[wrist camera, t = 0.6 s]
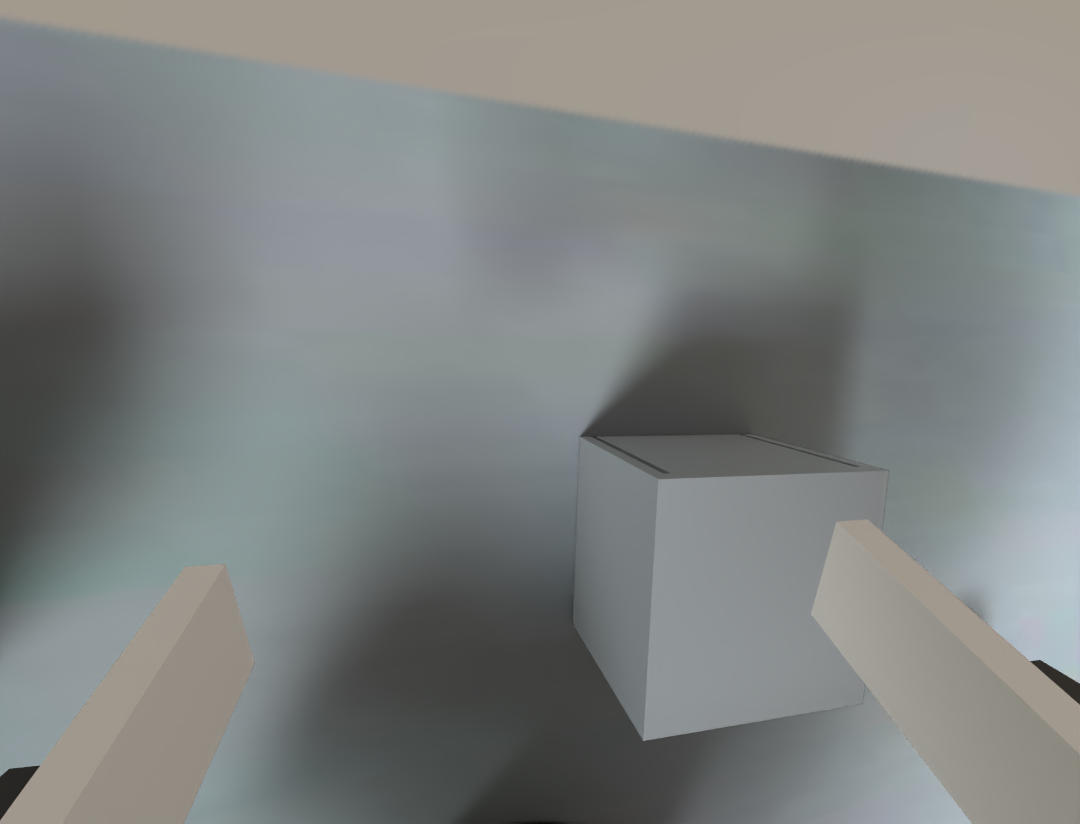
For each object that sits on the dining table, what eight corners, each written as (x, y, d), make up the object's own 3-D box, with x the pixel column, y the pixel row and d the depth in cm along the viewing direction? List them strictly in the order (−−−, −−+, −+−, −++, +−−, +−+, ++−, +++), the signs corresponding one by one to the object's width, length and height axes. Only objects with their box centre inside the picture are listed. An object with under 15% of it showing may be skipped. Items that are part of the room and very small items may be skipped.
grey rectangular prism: (738, 606, 31) (862, 703, 23) (572, 623, 29) (643, 741, 20) (752, 434, 30) (889, 470, 22) (579, 436, 28) (658, 479, 19)
